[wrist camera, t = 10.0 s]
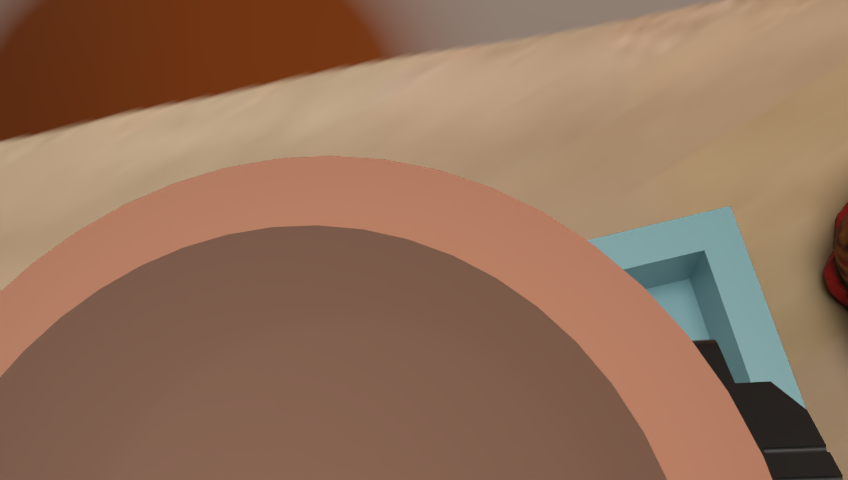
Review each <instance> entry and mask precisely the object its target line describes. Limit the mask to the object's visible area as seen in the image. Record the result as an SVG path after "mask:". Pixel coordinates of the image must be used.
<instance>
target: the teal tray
mask: <svg viewBox="0 0 848 480" xmlns="http://www.w3.org/2000/svg"><path fill="white" fill-rule="evenodd" d="M587 241H588V242H590V243H591V244H593V245H595V246H596V247H597V248H598V249H599V250H600V251H602V252H603V253H604V254H605V255H606V256H608V257H609V258H610V259H611V260H612V261H613V262H615V263H616V264H617V265H618V266H619V267H621V268H622V269H623V270H624V271H625V272H627V273H628V274H629V275H630V276H631V277H632V278H634V279H635V280H636V281H637V282H638V283H640V284H641V285H642V286H643V287H644V288H645V289H646V290H647V291H648V292H649V294H650V295H651V296H652V297H653V298H654V299H655V300H656V301H657V302H658V303H659V304H660V305H661V307H662V308H663V309H664V310H665V311H666V312H667V313H668V314H669V315H670V316H671V317H672V318H673V320H674V321H675V322H676V323H677V324H678V325H679V326H680V327H681V328H682V329H683V330H684V332H685V333H686V334H687V335H688V336H689V338H690V339H691V340H692V341H694V340H711V339H714V340H716V342H717V343H718V345H719V347H720V349H721V352H722V354H723V356H724V359H725V361H726V363H727V366H728V368H729V370H730V373H731V375H732V377H733V380H734V382H735V383H749V382H769V381H771V382H772V383H773V384H775V385H776V386H777V387H778V388H780V389H781V390H782V391H784V392H785V393H786V394H787V395H789V396H790V397H791V398H792V399H794V400H795V401H796V402H798V403H799V404H800V405H801V406H803V407H804V408H805V409H806V407H805V405H804V402H803V399H802V397H801V394H800V391H799V389H798V386H797V383H796V381H795V378H794V375H793V373H792V370H791V367H790V365H789V362H788V359H787V357H786V354H785V351H784V349H783V346H782V343H781V340H780V338H779V335H778V332H777V330H776V327H775V324H774V322H773V319H772V316H771V314H770V311H769V308H768V306H767V303H766V300H765V298H764V295H763V292H762V290H761V287H760V284H759V281H758V279H757V276H756V273H755V271H754V268H753V265H752V263H751V260H750V257H749V255H748V252H747V249H746V247H745V244H744V241H743V239H742V236H741V233H740V231H739V228H738V225H737V223H736V220H735V217H734V214H733V212H732V209H731V206H728V207H724V208H720V209H716V210H712V211H708V212H703V213H699V214H695V215H691V216H687V217H683V218H678V219H674V220H670V221H666V222H662V223H658V224H653V225H649V226H645V227H641V228H637V229H633V230H629V231H624V232H620V233H616V234H612V235H608V236H604V237H599V238H595V239H591V240H587Z"/></svg>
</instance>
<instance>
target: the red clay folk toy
mask: <svg viewBox="0 0 848 480" xmlns="http://www.w3.org/2000/svg"><path fill="white" fill-rule="evenodd" d="M833 249H834V251H833V253H832V254H831V256H830V257H829V259H828V261H827V263H826V265H825V267H824V273H823V278H824V280H825V283H826V285H827V287H828V290H829V292H830V293H831V294H832V295H833V296H834V297H835V298H836V299H837V300H838V301H839V302H840V303H842V304H843V305H845V306H847V307H848V203H847V204H846V205H845V206H844V208H843V209H842V211H841V212H840V213H839V214H838V215H837V218H836V220H835V238H834V243H833Z"/></svg>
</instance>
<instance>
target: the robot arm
mask: <svg viewBox="0 0 848 480" xmlns="http://www.w3.org/2000/svg"><path fill="white" fill-rule="evenodd" d="M692 342H693V343H694V345H695V346H696V347H697V349H698V350H699V352H700V353H701V354H702V356H703V357H704V359H705V360H706V361H707V363H708V364H709V366H710V367H711V368H712V370H713V371H714V373H715V374H716V375H717V377H718V378H719V380H720V381H721V382H722V384H723V385H724V387H725V388H726V389H727V391H728V392H729V394H730V396H731V398H732V400H733V401H734V403H735V405H736V407H737V409H738V411H739V413H740V414H741V416H742V418H743V420H744V422H745V424H746V425H747V427H748V429H749V431H750V433H751V435H752V436H753V438H754V440H755V442H756V444H757V446H758V448H759V449H760V451H761V453H762V455H763V457H764V459H765V462H766V464H767V467H768V470H769V472H770V475H771V477H772V480H843V479H842V474H841V472H840V470H839V468H838V466H837V465H836V463H835V461H834V459H833V457H832V455H831V454H830V452H827V450H826V444H825V442H824V441H823V439H822V437H821V435H820V433H819V431H818V430H817V428H816V426H815V424H814V422H813V420H812V418H811V417H810V415H809V413H808V411H807V410H806V409H805V408H804V407H803V406H801V405H800V404H799V403H798V402H796V401H795V400H794V399H792V398H791V397H790V396H789V395H787V394H786V393H785V392H784V391H782V390H781V389H780V388H778V387H777V386H776V385H775V384H773V383H772V382H771V381H769V382H749V383H735V382H734V380H733V377H732V375H731V373H730V370H729V368H728V366H727V363H726V361H725V359H724V356H723V354H722V352H721V349H720V347H719V345H718V343H717V342H716V340H714V339H711V340H694V341H692Z"/></svg>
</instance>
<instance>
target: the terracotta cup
mask: <svg viewBox="0 0 848 480" xmlns="http://www.w3.org/2000/svg"><path fill="white" fill-rule="evenodd" d="M0 480H772V477H771V475H770V472H769V470H768V467H767V464H766V462H765V459H764V457H763V455H762V453H761V451H760V449H759V448H758V446H757V444H756V442H755V440H754V438H753V436H752V435H751V433H750V431H749V429H748V427H747V425H746V424H745V422H744V420H743V418H742V416H741V414H740V413H739V411H738V409H737V407H736V405H735V403H734V401H733V400H732V398H731V396H730V394H729V392H728V391H727V389H726V388H725V387H724V385H723V384H722V382H721V381H720V380H719V378H718V377H717V375H716V374H715V373H714V371H713V370H712V368H711V367H710V366H709V364H708V363H707V361H706V360H705V359H704V357H703V356H702V354H701V353H700V352H699V350H698V349H697V347H696V346H695V345H694V343H693V342H692V340H691V339H690V338H689V336H688V335H687V334H686V333H685V332H684V330H683V329H682V328H681V327H680V326H679V325H678V324H677V323H676V322H675V321H674V320H673V318H672V317H671V316H670V315H669V314H668V313H667V312H666V311H665V310H664V309H663V308H662V307H661V305H660V304H659V303H658V302H657V301H656V300H655V299H654V298H653V297H652V296H651V295H650V294H649V292H648V291H647V290H646V289H645V288H644V287H643V286H642V285H641V284H640V283H638V282H637V281H636V280H635V279H634V278H632V277H631V276H630V275H629V274H628V273H627V272H625V271H624V270H623V269H622V268H621V267H619V266H618V265H617V264H616V263H615V262H613V261H612V260H611V259H610V258H609V257H608V256H606V255H605V254H604V253H603V252H602V251H600V250H599V249H598V248H597V247H596V246H595V245H593V244H591V243H590V242H588V241H587V240H585V239H584V238H582V237H581V236H579V235H578V234H576V233H574V232H573V231H571V230H570V229H568V228H567V227H565V226H564V225H562V224H561V223H559V222H557V221H556V220H554V219H553V218H551V217H550V216H548V215H547V214H545V213H543V212H541V211H539V210H537V209H535V208H533V207H531V206H529V205H527V204H525V203H523V202H520V201H518V200H516V199H514V198H512V197H510V196H508V195H506V194H504V193H502V192H500V191H498V190H495V189H493V188H491V187H488V186H485V185H482V184H479V183H476V182H473V181H470V180H467V179H464V178H461V177H458V176H455V175H452V174H449V173H446V172H443V171H440V170H436V169H431V168H425V167H420V166H415V165H410V164H405V163H400V162H395V161H390V160H385V159H370V158H355V157H341V156H319V157H300V158H282V159H273V160H268V161H262V162H256V163H251V164H245V165H239V166H234V167H228V168H224V169H220V170H217V171H214V172H210V173H207V174H204V175H200V176H197V177H194V178H190V179H187V180H184V181H180V182H177V183H174V184H171V185H169V186H167V187H164V188H162V189H160V190H157V191H155V192H153V193H151V194H148V195H146V196H144V197H141V198H139V199H137V200H134V201H132V202H130V203H127V204H125V205H123V206H121V207H119V208H118V209H116V210H114V211H112V212H111V213H109V214H107V215H105V216H104V217H102V218H100V219H98V220H97V221H95V222H93V223H91V224H90V225H88V226H86V227H84V228H82V229H81V230H79V231H77V232H76V233H74V234H73V235H71V236H70V237H69V238H67V239H66V240H65V241H63V242H62V243H60V244H59V245H58V246H56V247H55V248H53V249H52V250H51V251H49V252H48V253H46V254H45V255H44V256H42V257H41V258H39V259H38V260H37V261H35V262H34V263H32V264H31V265H30V266H29V267H28V268H27V269H25V270H24V271H23V272H22V273H21V274H20V275H19V276H18V277H16V278H15V279H14V280H13V281H12V282H11V283H10V284H9V285H7V286H6V287H5V288H4V289H3V290H2V291H1V292H0Z"/></svg>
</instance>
